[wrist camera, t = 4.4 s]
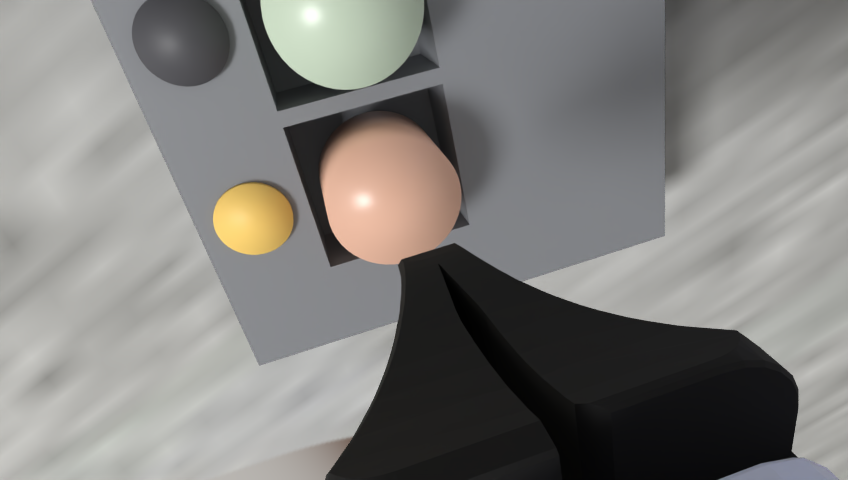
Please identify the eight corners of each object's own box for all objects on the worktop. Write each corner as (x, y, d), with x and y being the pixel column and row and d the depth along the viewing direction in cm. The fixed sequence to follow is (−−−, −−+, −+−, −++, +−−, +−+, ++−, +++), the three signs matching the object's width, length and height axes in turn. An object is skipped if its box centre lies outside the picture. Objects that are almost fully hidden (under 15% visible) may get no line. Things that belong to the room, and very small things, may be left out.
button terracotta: (423, 96, 19) (448, 120, 16) (445, 205, 21) (471, 242, 18) (302, 129, 18) (308, 160, 16) (337, 237, 20) (347, 280, 18)
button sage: (382, -96, 16) (405, -104, 13) (413, 49, 18) (437, 67, 15) (240, -63, 16) (235, -64, 13) (287, 83, 18) (291, 107, 15)
